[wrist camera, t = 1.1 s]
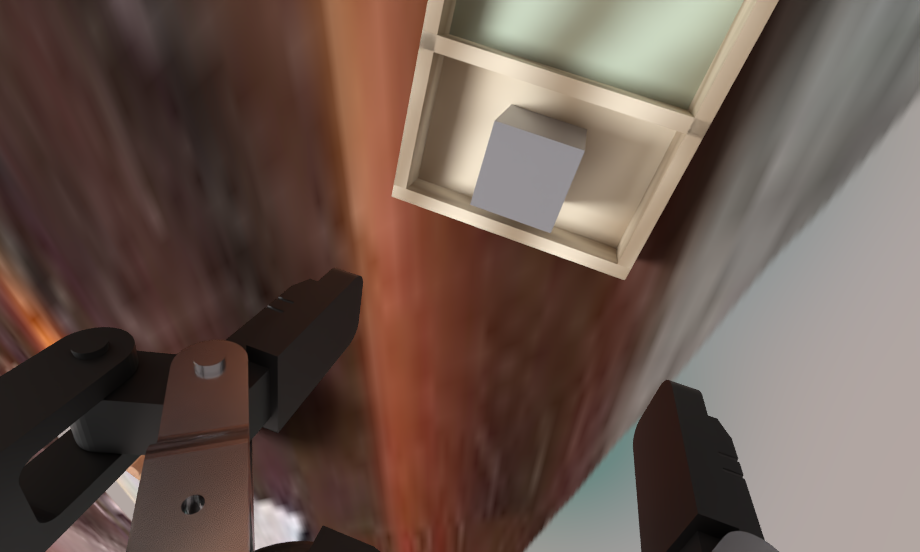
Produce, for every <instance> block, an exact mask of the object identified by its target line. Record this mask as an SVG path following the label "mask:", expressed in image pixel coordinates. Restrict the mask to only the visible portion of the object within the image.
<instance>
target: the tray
mask: <svg viewBox="0 0 920 552" xmlns="http://www.w3.org/2000/svg"><path fill="white" fill-rule="evenodd" d="M778 1H779V0H428V4H427V9H426V14H425V20H424V25H423V31H422V36H421V41H420V47H419V52H418V57H417V63H416V68H415V74H414V79H413V84H412V90H411V95H410V101H409V106H408V111H407V117H406V122H405V127H404V133H403V138H402V144H401V149H400V154H399V160H398V165H397V170H396V176H395V181H394V187H393V192H392V197H395V198H397V199H400V200H403V201H406V202H409V203H411V204H414V205H417V206H420V207H423V208H425V209H428V210H431V211H434V212H436V213H439V214H442V215H445V216H448V217H450V218H453V219H456V220H459V221H461V222H464V223H467V224H470V225H473V226H475V227H478V228H481V229H484V230H487V231H489V232H492V233H495V234H498V235H500V236H503V237H506V238H509V239H512V240H514V241H517V242H520V243H523V244H525V245H528V246H531V247H534V248H537V249H539V250H542V251H545V252H548V253H550V254H553V255H556V256H559V257H562V258H564V259H567V260H570V261H573V262H576V263H578V264H581V265H584V266H587V267H589V268H592V269H595V270H598V271H601V272H603V273H606V274H609V275H612V276H614V277H617V278H620V279H623V280H625V279H626V277H627V275H628V273H629V271H630V270H631V268H632V266H633V264H634V262H635V260H636V259H637V257H638V255H639V253H640V251H641V250H642V248H643V246H644V244H645V242H646V241H647V239H648V237H649V235H650V233H651V231H652V230H653V228H654V226H655V224H656V222H657V221H658V219H659V217H660V215H661V213H662V211H663V210H664V208H665V206H666V204H667V202H668V201H669V199H670V197H671V195H672V193H673V192H674V190H675V188H676V186H677V184H678V182H679V181H680V179H681V177H682V175H683V173H684V172H685V170H686V168H687V166H688V164H689V162H690V161H691V159H692V157H693V155H694V153H695V152H696V150H697V148H698V146H699V144H700V143H701V141H702V139H703V137H704V135H705V133H706V132H707V130H708V128H709V126H710V124H711V123H712V121H713V119H714V117H715V115H716V113H717V112H718V110H719V108H720V106H721V104H722V103H723V101H724V99H725V97H726V95H727V94H728V92H729V90H730V88H731V86H732V84H733V83H734V81H735V79H736V77H737V75H738V74H739V72H740V70H741V68H742V66H743V64H744V63H745V61H746V59H747V57H748V55H749V54H750V52H751V50H752V48H753V46H754V45H755V43H756V41H757V39H758V37H759V35H760V34H761V32H762V30H763V28H764V26H765V25H766V23H767V21H768V19H769V17H770V15H771V14H772V12H773V10H774V8H775V6H776V5H777V3H778ZM511 104H512V105H515V106H518V107H521V108H524V109H527V110H530V111H533V112H536V113H539V114H542V115H545V116H548V117H551V118H555V119H558V120H561V121H564V122H567V123H570V124H573V125H576V126H579V127H582V128H585V129H587V136H586V145H585V152H584V154H583V157H582V159H581V162H580V164H579V166H578V169H577V171H576V174H575V176H574V178H573V181H572V183H571V186H570V188H569V191H568V193H567V195H566V198H565V200H564V203H563V205H562V207H561V210H560V212H559V215H558V217H557V220H556V222H555V224H554V227H553V229H552V232H551V233H548V232H546V231H543V230H540V229H537V228H534V227H531V226H529V225H526V224H523V223H520V222H517V221H515V220H512V219H509V218H506V217H503V216H501V215H498V214H495V213H492V212H489V211H486V210H484V209H481V208H478V207H475V206H472V205H470V203H471V200H472V196H473V193H474V189H475V186H476V183H477V179H478V176H479V172H480V169H481V165H482V162H483V159H484V155H485V152H486V148H487V145H488V141H489V138H490V135H491V131H492V128H493V124H494V121H495V120H496V119H497V118H498V117H499V116H500V115H501V114H502V113H503V112H504V111H505V110H506V109H507V108H508V107H509V106H510V105H511Z"/></svg>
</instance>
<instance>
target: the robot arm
mask: <svg viewBox="0 0 920 552" xmlns="http://www.w3.org/2000/svg"><path fill="white" fill-rule="evenodd" d="M362 287H363V279H362V277H361V276H359V275H356V274H353V273H350V272H347V271H344V270H341V269H338V268H333V269H331V270H330V271H329V272H328V273H327V274H326V275H324V276H323V277H322V278H321V279H320V280H319V281H315V280H312V279H309V280H306V281H303V282H301V283H298V284H295V285H293V286H291V287H290V288H289V289H287V290H286V291H285V292H284V293H282V294H281V295H280V296H279V298H278V299H275V300H274V301H273V302H271V303H270V304H269V305H268V307H267V308H264V309H263V310H262V311H261V312H259V313H258V314H257V315H256V316H254V317H253V318H252V319H251V320H250V321H248V322H247V323H246V324H245V325H243V326H242V327H241V328H240V329H239V330H237V331H236V332H235V333H234V334H232V335H231V336H230V337H229V338H228V339H226V340H208V341H202V342H199V343H196V344H193V345H191V346H188V347H187V348H185V349H183V350H182V351H181V352H179V353H178V354H165V353H155V352H144V351H137V350H136V346H135V341H134V339H133V337H132V336H131V335H130V334H129V333H128V332H126V331H124V330H121V329H117V328H110V327H100V328H91V329H86V330H82V331H79V332H76V333H73V334H70V335H68V336H66V337H64V338H62V339H60V340H59V341H57V342H55V343H54V344H52V345H51V346H49V347H47V348H46V349H44V350H42V351H41V352H39V353H38V354H36V355H34V356H33V357H31V358H30V359H28V360H26V361H25V362H23V363H21V364H20V365H18V366H17V367H15V368H13V369H12V370H10V371H9V372H7V373H5V374H4V375H2V376H0V552H45V551H46V550H47V549H48V548H49V547H50V546H51V545H52V544H53V543H54V542H55V541H56V540H57V539H58V538H59V537H60V536H61V535H62V534H63V533H64V532H65V531H66V530H67V529H68V528H69V527H70V526H71V525H72V524H73V523H74V522H75V521H76V520H77V519H78V518H79V517H80V516H81V515H82V514H83V513H84V512H85V511H86V510H87V509H88V508H89V507H90V506H91V505H92V504H93V503H94V502H95V501H96V500H97V499H98V498H99V497H100V496H101V495H102V494H103V493H104V492H105V491H106V490H107V489H108V488H109V487H110V486H111V485H112V484H113V483H114V482H115V481H116V480H117V479H118V478H119V477H120V476H121V475H122V474H123V473H124V472H125V471H126V470H127V469H128V468H129V467H130V466H131V465H132V464H133V463H134V462H135V461H136V460H137V459H138V458H139V457H140V456H141V455H145V458H144V462H143V468H142V473H141V478H140V483H139V488H138V493H137V498H136V504H135V509H134V514H133V519H132V524H131V529H130V535H129V540H128V545H127V550H126V552H380V551H379V550H377V549H376V548H375V547H373V546H371V545H369V544H366V543H364V542H361V541H359V540H357V539H354V538H352V537H349V536H347V535H345V534H342V533H340V532H337V531H335V530H333V529H330V528H328V527H325V526H322V528H321V530H320V532H319V533H318V535H317V537H316V539H315V541H314V542H310V541H292V542H285V543H278V544H274V545H270V546H267V547H263V548H260V549H258V550H255V540H254V505H253V449H252V438H253V437H254V436H255V435H256V434H257V433H258V431H259V430H260V429H261V428H262V427H264V428H267V429H269V430H272V431H274V432H277V433H279V431H280V430H281V429H282V428H283V426H284V425H285V424H286V423H287V421H288V420H289V419H290V418H291V416H292V415H293V414H294V413H295V411H296V410H297V409H298V408H299V406H300V405H301V404H302V403H303V401H304V400H305V399H306V398H307V397H308V395H309V394H310V393H311V392H312V390H313V389H314V388H315V387H316V385H317V384H318V383H319V382H320V380H321V379H322V378H323V377H324V375H325V374H326V373H327V372H328V370H329V369H330V368H331V367H332V365H333V364H334V363H335V362H336V360H337V359H338V358H339V357H340V355H341V354H342V353H343V352H344V351H345V349H346V348H347V347H348V346H349V344H350V343H351V341H352V339H353V338H354V335H355V333H356V330H357V327H358V322H359V314H360V305H361V296H362ZM69 426H70V427H71V429H70V430H69V431H67V432H66V433H65V434H64V435H63V436H61V437H60V438H59V439H57V440H56V441H55V442H54V443H53V444H51V445H50V446H49V447H48V448H46V449H45V450H44V451H43V452H41V453H40V454H39V455H38V456H37V457H35V458H34V459H33V460H32V461H30V462H29V463H28V464H27V465H25V464H26V463H27V462H28V461H29V460H30V458H31V457H32V456H34V455H35V454H36V453H37V452H38V451H40V450H41V449H42V448H43V447H45V446H46V445H47V444H48V443H49V442H51V441H52V440H53V439H54V438H56V437H57V436H58V435H59V434H61V433H62V432H63V431H64V430H66V429H67V428H68V427H69ZM633 452H634V465H635V476H636V489H637V502H638V514H639V527H640V538H641V552H779V551H778V550H777V549H775V548H774V547H773V546H772V545H770V544H769V543H768V542H766V541H765V540H764V537H763V534H762V531H761V528H760V525H759V522H758V519H757V515H756V512H755V509H754V506H753V503H752V500H751V497H750V494H749V491H748V487H747V484H746V481H745V479H743V472H742V469H741V466H740V463H739V462H737V460H738V457H737V454H736V451H735V447H734V445H733V441H732V438H731V437H730V436H729V434H728V433H727V432H726V430H725V429H724V428H723V426H722V425H721V423H720V422H719V421H718V419H717V418H713V417H711V416H708V415H707V411H706V407H705V404H704V400H703V396H702V394H701V392H700V391H699V390H696V389H693V388H690V387H687V386H684V385H681V384H678V383H675V382H673V381H670V380H666V381H664V382H663V383H662V384H661V386H660V387H659V389H658V390H657V392H656V394H655V395H654V397H653V399H652V400H651V402H650V404H649V405H648V407H647V409H646V410H645V412H644V414H643V415H642V417H641V419H640V420H639V422H638V424H637V427H636V430H635V434H634V439H633Z"/></svg>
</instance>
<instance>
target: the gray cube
mask: <svg viewBox="0 0 920 552" xmlns="http://www.w3.org/2000/svg"><path fill="white" fill-rule="evenodd" d="M586 136H587V129H585V128H582V127H579V126H576V125H573V124H570V123H567V122H564V121H561V120H558V119H555V118H551V117H548V116H545V115H542V114H539V113H536V112H533V111H530V110H527V109H524V108H521V107H518V106H515V105H512V104H511V105H510V106H509V107H508V108H507V109H506V110H505V111H504V112H503V113H502V114H501V115H500V116H499V117H498V118H497V119H496V120H495V121H494V124H493V128H492V131H491V135H490V138H489V141H488V145H487V148H486V152H485V155H484V159H483V162H482V165H481V169H480V172H479V176H478V179H477V183H476V186H475V189H474V193H473V196H472V200H471V203H470V205H472V206H475V207H478V208H481V209H484V210H486V211H489V212H492V213H495V214H498V215H501V216H503V217H506V218H509V219H512V220H515V221H517V222H520V223H523V224H526V225H529V226H531V227H534V228H537V229H540V230H543V231H546V232H548V233H551V232H552V229H553V227H554V224H555V222H556V220H557V217H558V215H559V212H560V210H561V207H562V205H563V203H564V200H565V198H566V195H567V193H568V191H569V188H570V186H571V183H572V181H573V178H574V176H575V174H576V171H577V169H578V166H579V164H580V162H581V159H582V157H583V154H584V152H585V145H586Z"/></svg>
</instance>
